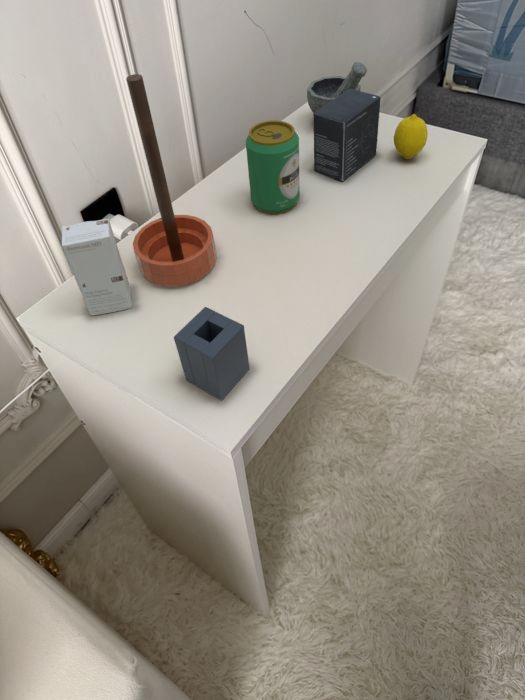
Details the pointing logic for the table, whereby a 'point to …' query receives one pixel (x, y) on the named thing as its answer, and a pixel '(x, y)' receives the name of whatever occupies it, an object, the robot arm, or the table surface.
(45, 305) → the table surface
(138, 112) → the stick
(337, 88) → the mortar and pestle
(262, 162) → the beverage can
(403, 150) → the fruit
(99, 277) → the cosmetic box
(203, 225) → the bowl
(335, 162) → the box
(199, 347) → the holder
